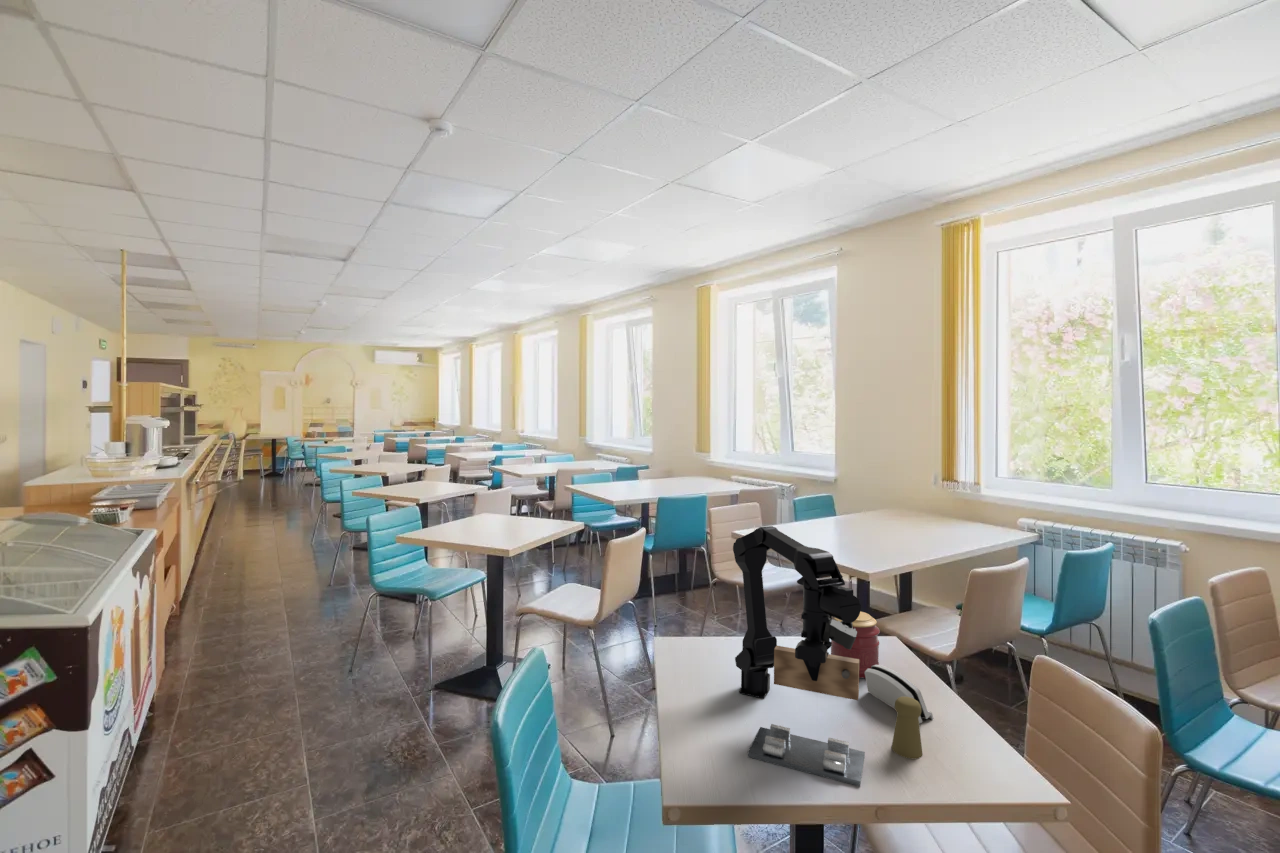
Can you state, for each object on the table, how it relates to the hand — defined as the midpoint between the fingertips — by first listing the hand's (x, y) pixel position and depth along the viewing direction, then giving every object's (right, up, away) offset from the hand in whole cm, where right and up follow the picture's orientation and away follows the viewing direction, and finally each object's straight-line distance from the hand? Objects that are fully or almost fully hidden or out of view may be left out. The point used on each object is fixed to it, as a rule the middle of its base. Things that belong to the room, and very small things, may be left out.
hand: (815, 678), depth 131 cm
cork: (+18, -13, -6) cm, 23 cm away
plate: (-4, -13, -8) cm, 16 cm away
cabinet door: (0, -3, 0) cm, 3 cm away
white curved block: (+24, -13, +14) cm, 30 cm away
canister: (+21, -13, +35) cm, 43 cm away
